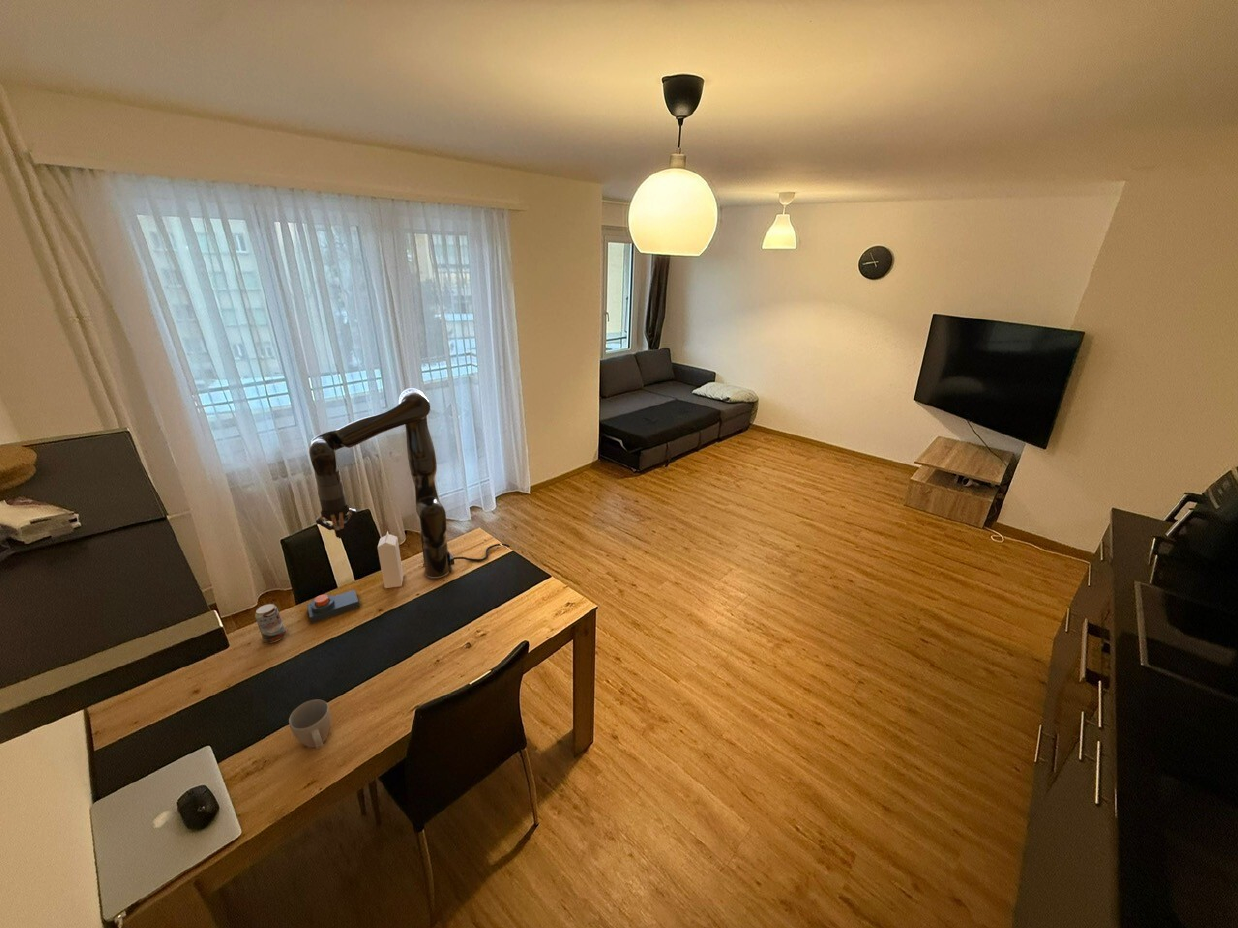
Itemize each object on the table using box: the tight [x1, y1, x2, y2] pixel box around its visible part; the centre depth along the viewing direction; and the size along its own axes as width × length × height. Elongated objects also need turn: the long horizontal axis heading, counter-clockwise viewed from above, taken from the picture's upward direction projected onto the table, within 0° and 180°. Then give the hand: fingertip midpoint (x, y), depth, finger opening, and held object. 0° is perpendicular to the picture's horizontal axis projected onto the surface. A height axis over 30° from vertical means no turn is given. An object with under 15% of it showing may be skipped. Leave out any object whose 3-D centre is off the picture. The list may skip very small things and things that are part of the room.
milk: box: [377, 530, 404, 589], centre depth 181 cm, size 6×6×22 cm
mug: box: [288, 698, 332, 751], centre depth 125 cm, size 12×9×10 cm
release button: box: [314, 594, 329, 607], centre depth 167 cm, size 4×4×2 cm
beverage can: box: [254, 603, 286, 644], centre depth 155 cm, size 6×7×12 cm
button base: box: [306, 589, 360, 624], centre depth 170 cm, size 15×8×4 cm, turn 127°
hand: (340, 537), depth 169 cm, fingers closed
